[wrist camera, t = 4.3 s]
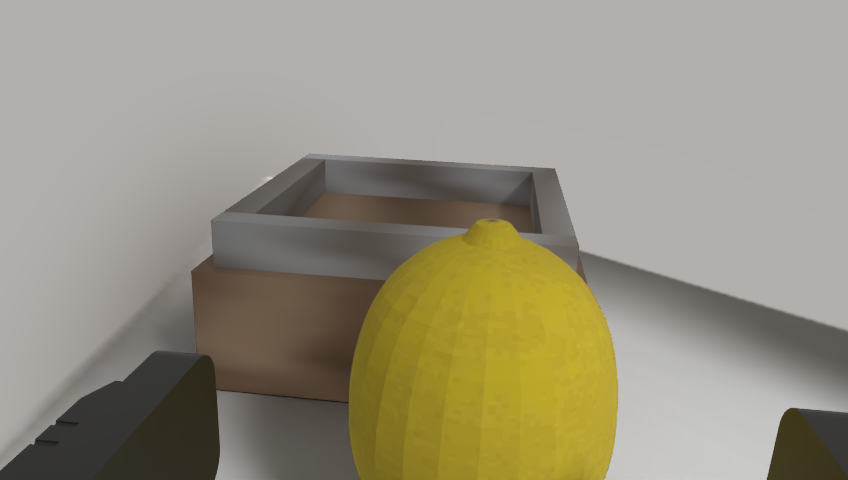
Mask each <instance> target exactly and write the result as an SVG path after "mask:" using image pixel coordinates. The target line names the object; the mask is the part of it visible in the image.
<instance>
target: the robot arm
mask: <svg viewBox="0 0 848 480" xmlns="http://www.w3.org/2000/svg"><path fill="white" fill-rule="evenodd" d="M219 456H220V442H219V426H218V409H217V393H216V377H215V367H214V363H213V361H212V359H211V357H210V356H208V355H203V354H191V353H180V352H169V351H156V352H154V353H152V354H151V355H150V356H149V357H148V358H147V359H146V360H145V361H144V362H143V363H142V364H141V365H140V366H139V367H138V368H136V369H135V370H134V371H133V372H132V373H131V374H130V375H129V376H128V377H127V378H126V379H125V380H124V381H123V382H122V381H114V382H112V383H110V384H108V385H106V386H104V387H102V388H100V389H98V390H96V391H94V392H92V393H90V394H88V395H86V396H84V397H82V398H81V399H80V400H78V401H77V402H76V403H75V404H74V405H73V406H72V407H71V408H70V409H68V410H67V411H66V412H65V413H64V414H63V415H62V416H61V417H60V418H58V419H57V420H56V424H55V425H51V426H50V427H48V428H47V429H46V430H45V431H44V432H43V433H42V434H41V435H40V436H38V437H37V438H36V439H35V443H34V445H32V444H30V445H28V446H27V447H26V448H25V449H24V450H23V451H22V452H21V453H20V454H18V455H17V456H16V457H15V458H14V459H13V460H12V461H11V462H10V463H8V464H7V465H6V466H5V467H4V468H3V469H2V470H1V471H0V480H215V477H216V473H217V469H218V464H219ZM767 480H848V413H844V412H832V411H821V410H810V409H798V408H790V409H788V410H787V411H786V412H785V413H784V415H783V416H782V418H781V421H780V424H779V428H778V433H777V437H776V442H775V446H774V451H773V455H772V460H771V464H770V468H769V473H768V477H767Z"/></svg>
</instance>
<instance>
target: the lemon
mask: <svg viewBox="0 0 848 480" xmlns="http://www.w3.org/2000/svg"><path fill="white" fill-rule="evenodd" d="M617 408H618V381H617V368H616V361H615V353H614V348H613V343H612V338H611V334H610V331H609V328H608V325H607V322H606V319H605V317H604V315H603V313H602V311H601V309H600V307H599V305H598V303H597V301H596V299H595V297H594V295H593V293H592V291H591V290H590V289H589V287H588V286H587V285H586V283H585V282H584V281H583V279H582V278H581V277H580V276H579V275H578V274H577V273H576V272H575V271H574V270H573V269H572V268H571V267H570V266H569V265H568V264H567V263H565V262H564V261H563V260H562V259H560V258H559V257H558V256H556V255H555V254H554V253H552V252H551V251H550V250H548V249H546V248H544V247H542V246H540V245H538V244H536V243H534V242H532V241H530V240H528V239H525V238H522V237H521V236H520V235H519V233H518V232H517V231H516V229H515V228H514V227H513V225H512V224H511V223H510V222H508V221H505V220H501V219H481V220H478V221H477V222H476V223H475V224H474V225H473V226H472V227H471V228H470V229H469V230H468V231H467V232H466V233H463V234H458V235H455V236H452V237H449V238H446V239H443V240H440V241H437V242H435V243H433V244H431V245H429V246H428V247H426V248H424V249H422V250H421V251H419V252H418V253H416V254H415V255H413V256H412V257H411V258H409V259H408V260H407V261H405V262H404V263H403V264H401V265H400V266H399V267H398V268H397V269H396V270H395V271H394V272H393V273H392V274H391V275H390V276H389V278H388V279H387V280H386V282H385V283H384V285H383V286H382V288H381V289H380V291H379V292H378V294H377V295H376V297H375V299H374V300H373V302H372V304H371V306H370V308H369V311H368V313H367V315H366V317H365V320H364V323H363V325H362V328H361V331H360V334H359V338H358V341H357V345H356V349H355V353H354V358H353V363H352V369H351V376H350V388H349V434H350V443H351V449H352V454H353V459H354V462H355V465H356V469H357V472H358V475H359V477H360V480H604V479H605V476H606V474H607V471H608V468H609V464H610V461H611V457H612V453H613V447H614V442H615V434H616V422H617Z"/></svg>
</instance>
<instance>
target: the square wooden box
mask: <svg viewBox="0 0 848 480" xmlns="http://www.w3.org/2000/svg"><path fill="white" fill-rule="evenodd" d="M481 219H501V220H505V221H508V222H510V223H511V224H512V225H513V227H514V228H515V229H516V231H517V232H518V233H519V235H520V236H521V237H522V238H525V239H528V240H530V241H532V242H534V243H536V244H538V245H540V246H542V247H544V248H546V249H548V250H550V251H551V252H552V253H554V254H555V255H556V256H558V257H559V258H560V259H562V260H563V261H564V262H565V263H567V264H568V265H569V266H570V267H571V268H572V269H573V270H574V271H575V272H576V273H577V274H578V275H579V276H580V277H581V278H582V279H583V281H584V282H585V283H586V285H587V282H586V278H585V275H584V272H583V268H582V265H581V262H580V258H579V255H578V252H579V245H578V242H577V239H576V236H575V232H574V229H573V226H572V222H571V220H570V216H569V213H568V209H567V206H566V203H565V200H564V197H563V193H562V190H561V187H560V184H559V180H558V177H557V174H556V171H555V169H552V168H535V167H519V166H502V165H487V164H486V165H485V164H470V163H454V162H437V161H421V160H404V159H388V158H372V157H356V156H339V155H322V154H308V155H306V156H305V157H304V158H302V159H301V160H299V161H298V162H296V163H295V164H293V165H292V166H290V167H289V168H287V169H286V170H284V171H283V172H281V173H280V174H278V175H277V176H276V177H274V178H273V179H271V180H270V181H268V182H267V183H265V184H264V185H262V186H261V187H259V188H258V189H256V190H255V191H253V192H252V193H251V194H249V195H248V196H246V197H245V198H243V199H242V200H240V201H239V202H237V203H236V204H234V205H233V206H231V207H230V208H229V209H227V210H226V211H224V212H223V213H221V214H220V215H218V216H217V217H216V218H214V219H212V220H211V228H212V246H213V254H212V255H211V256H210V257H208V258H207V259H206V260H205V261H203V262H202V263H201V264H200V265H198V266H197V267H196V268H195V269H193V270H192V271H191V274H192V289H193V304H194V318H195V333H196V348H197V354H203V355H208V356H210V357H211V359H212V361H213V363H214V367H215V377H216V389H217V390H228V391H238V392H248V393H259V394H269V395H280V396H290V397H300V398H311V399H321V400H331V401H342V402H349V388H350V376H351V369H352V363H353V358H354V353H355V349H356V345H357V341H358V338H359V334H360V331H361V328H362V325H363V323H364V320H365V317H366V315H367V313H368V311H369V308H370V306H371V304H372V302H373V300H374V299H375V297H376V295H377V294H378V292H379V291H380V289H381V288H382V286H383V285H384V283H385V282H386V280H387V279H388V278H389V276H390V275H391V274H392V273H393V272H394V271H395V270H396V269H397V268H398V267H399V266H400V265H401V264H403V263H404V262H405V261H407V260H408V259H409V258H411V257H412V256H413V255H415V254H416V253H418V252H419V251H421V250H422V249H424V248H426V247H428V246H429V245H431V244H433V243H435V242H437V241H440V240H443V239H446V238H449V237H452V236H455V235H458V234H463V233H466V232H467V231H468V230H469V229H470V228H471V227H472V226H473V225H474V224H475V223H476V222H477V221H478V220H481ZM587 286H588V285H587Z"/></svg>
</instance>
